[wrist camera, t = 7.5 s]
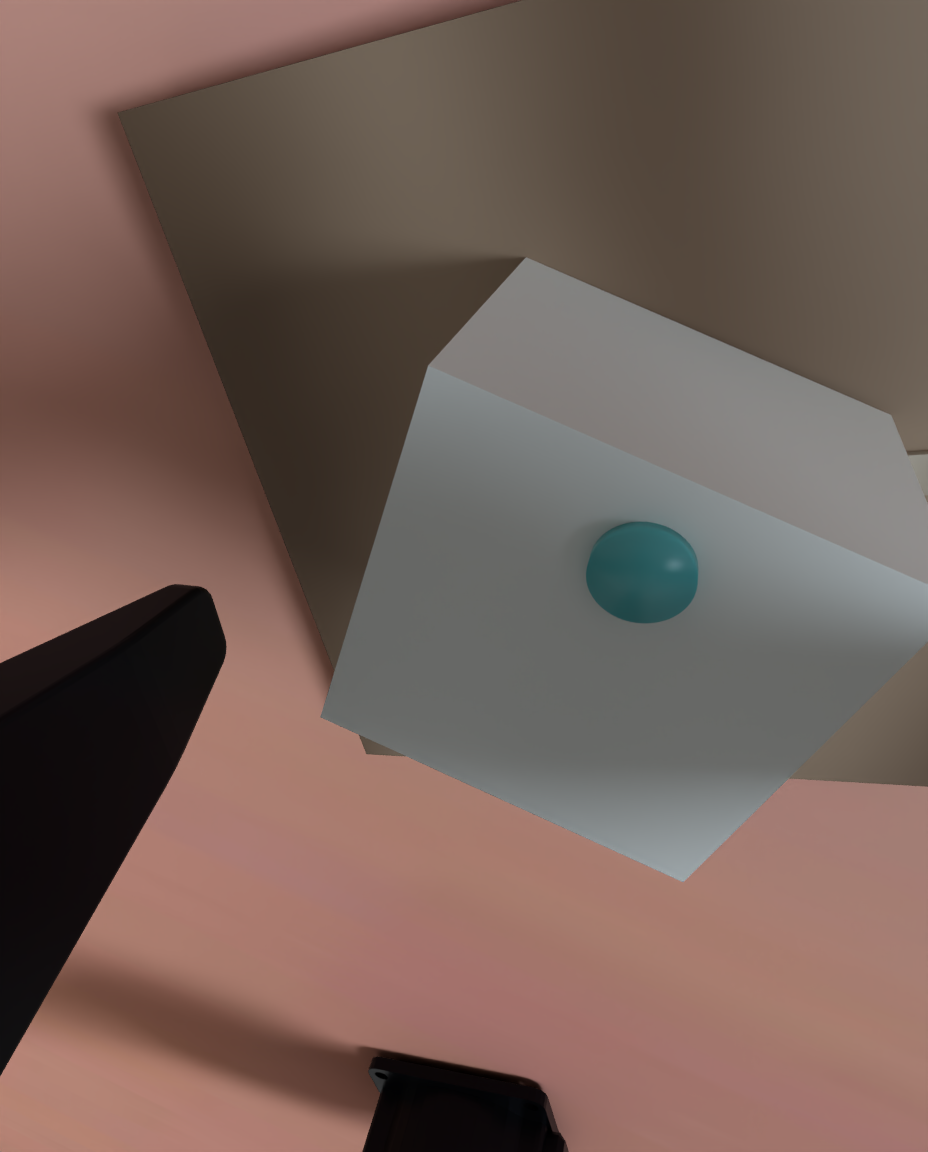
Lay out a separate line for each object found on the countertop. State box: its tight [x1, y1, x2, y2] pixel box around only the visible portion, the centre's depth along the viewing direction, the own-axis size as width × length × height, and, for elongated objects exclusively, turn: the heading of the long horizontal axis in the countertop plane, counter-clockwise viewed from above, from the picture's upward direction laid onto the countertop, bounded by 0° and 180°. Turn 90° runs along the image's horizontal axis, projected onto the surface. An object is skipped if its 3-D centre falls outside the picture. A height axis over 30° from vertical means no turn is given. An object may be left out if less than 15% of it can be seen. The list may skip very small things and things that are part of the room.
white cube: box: [321, 257, 928, 882], centre depth 10 cm, size 5×5×4 cm
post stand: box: [118, 0, 928, 786], centre depth 11 cm, size 12×12×4 cm
